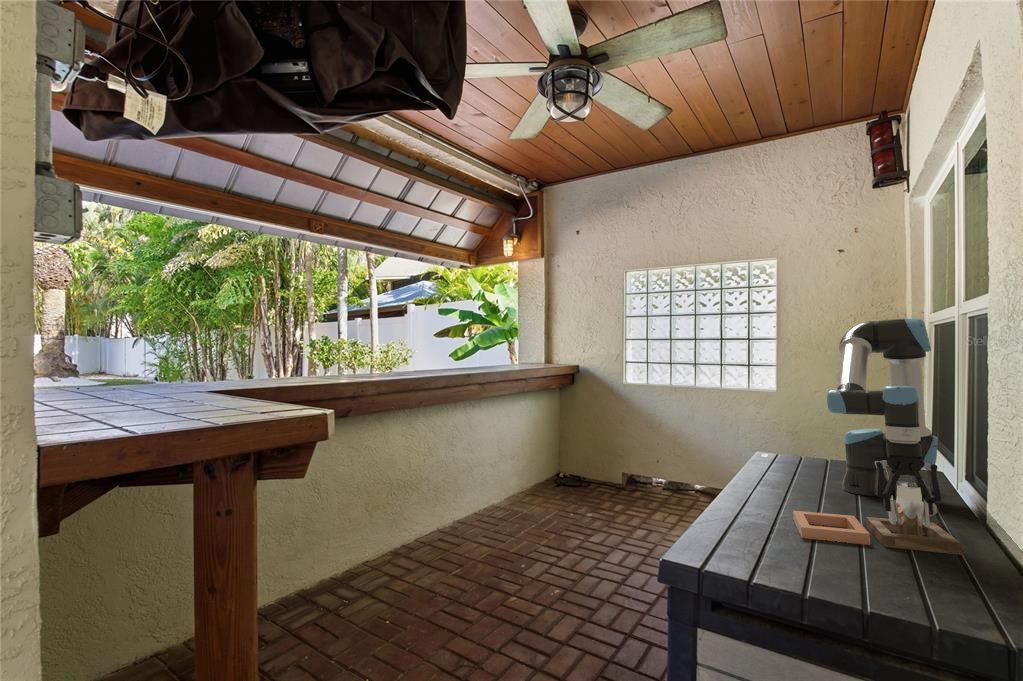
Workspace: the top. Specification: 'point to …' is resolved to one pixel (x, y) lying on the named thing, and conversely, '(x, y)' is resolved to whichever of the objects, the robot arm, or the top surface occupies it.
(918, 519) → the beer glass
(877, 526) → the walnut holder
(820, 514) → the terracotta holder
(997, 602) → the top surface
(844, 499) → the top surface
